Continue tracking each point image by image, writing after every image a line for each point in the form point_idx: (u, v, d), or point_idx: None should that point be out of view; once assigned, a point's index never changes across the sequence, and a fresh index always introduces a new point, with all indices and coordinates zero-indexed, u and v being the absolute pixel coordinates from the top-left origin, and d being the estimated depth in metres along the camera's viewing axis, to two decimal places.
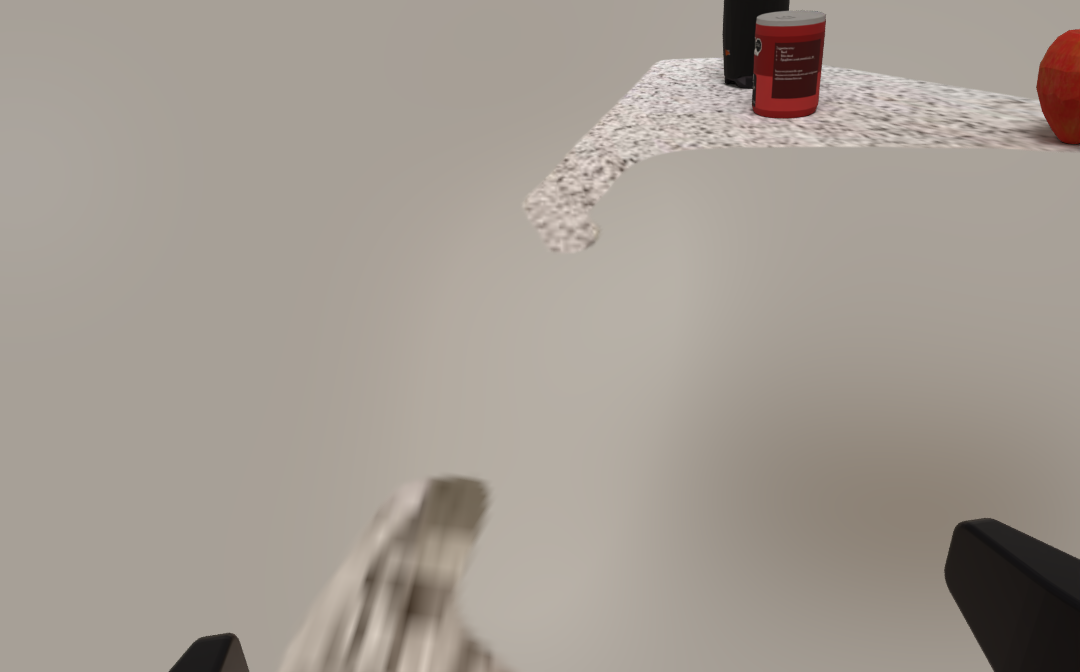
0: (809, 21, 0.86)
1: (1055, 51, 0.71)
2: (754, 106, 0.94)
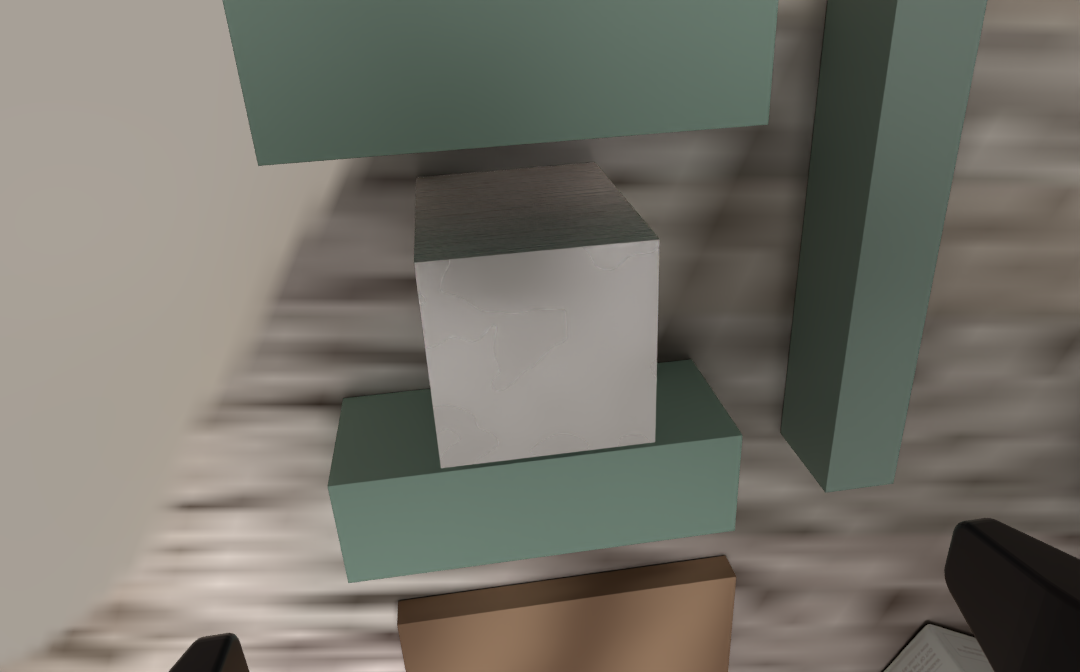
0: None
1: None
2: None
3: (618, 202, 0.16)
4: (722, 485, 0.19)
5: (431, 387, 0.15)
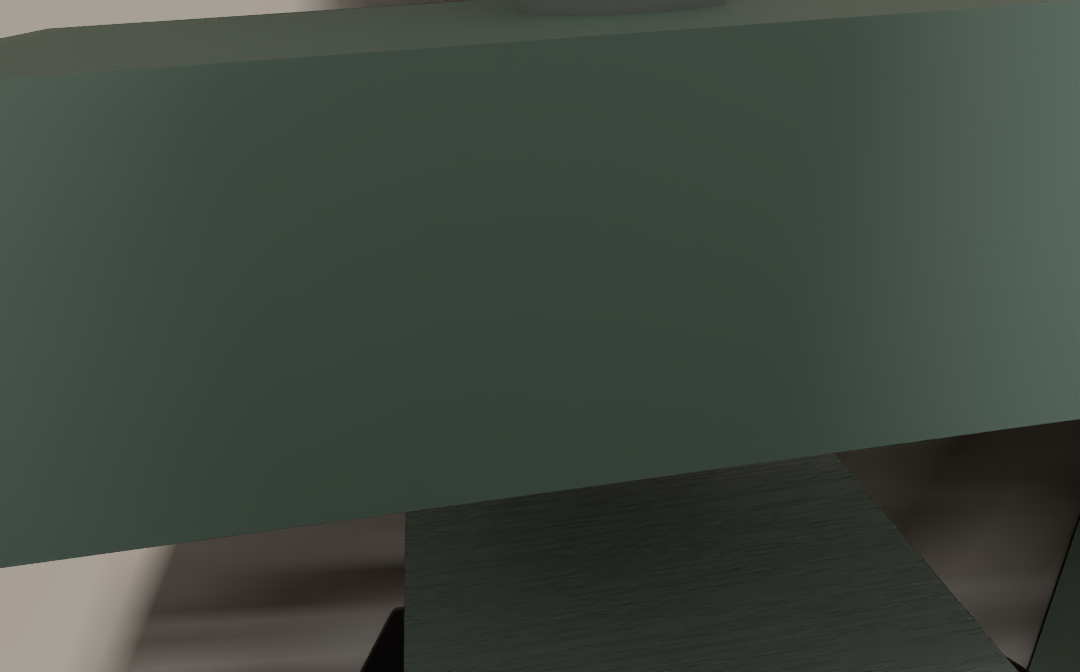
0: None
1: None
2: None
3: (889, 546, 0.07)
4: None
5: None
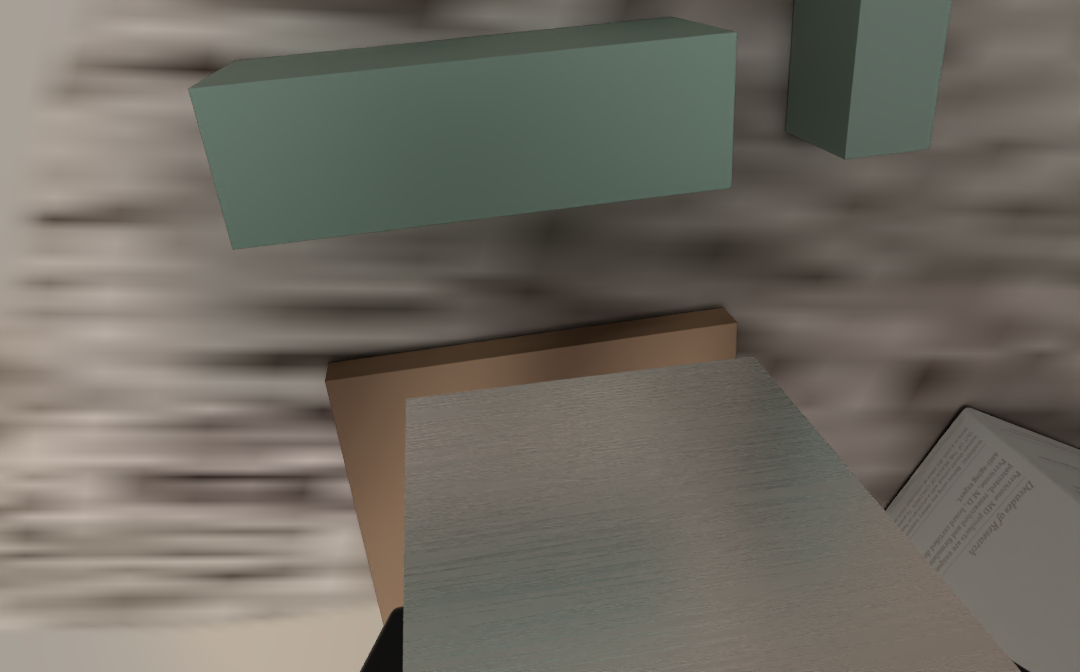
0: None
1: None
2: None
3: (889, 544, 0.07)
4: (713, 114, 0.15)
5: None
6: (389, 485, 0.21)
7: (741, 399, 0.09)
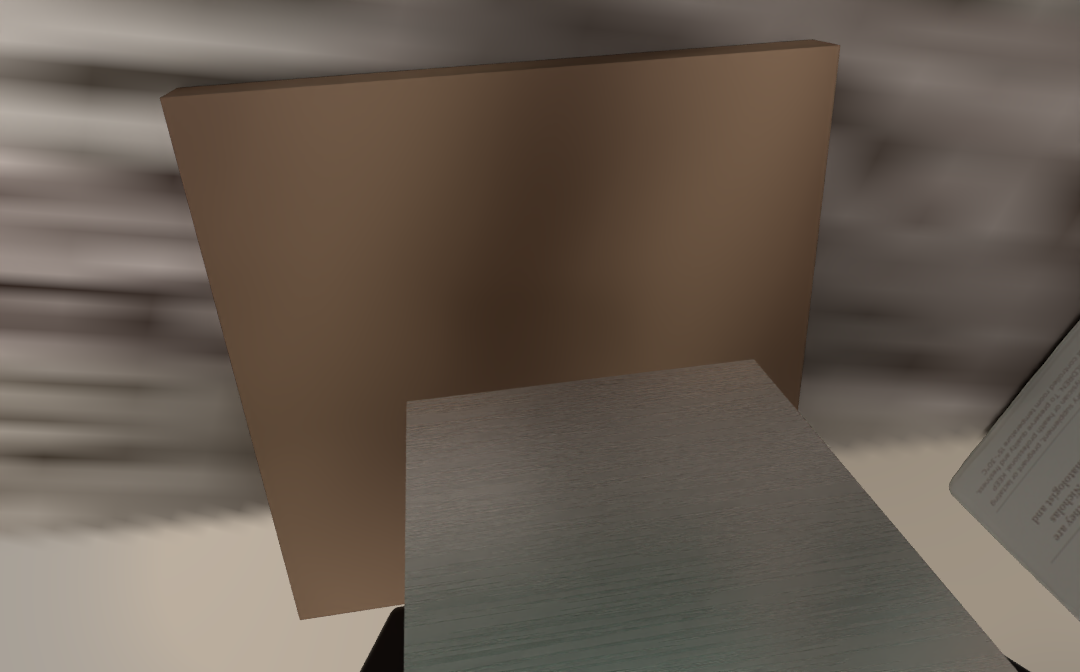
0: None
1: None
2: None
3: (890, 548, 0.07)
4: None
5: None
6: (278, 302, 0.13)
7: (741, 402, 0.09)
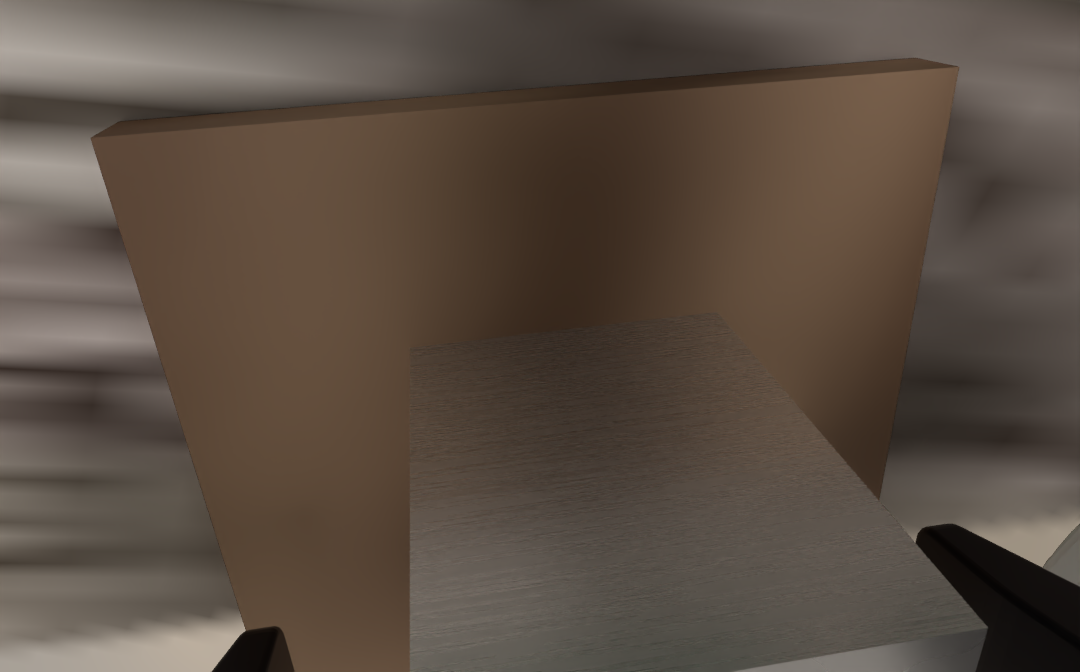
0: None
1: None
2: None
3: (817, 451, 0.08)
4: None
5: None
6: (250, 386, 0.11)
7: (703, 345, 0.10)
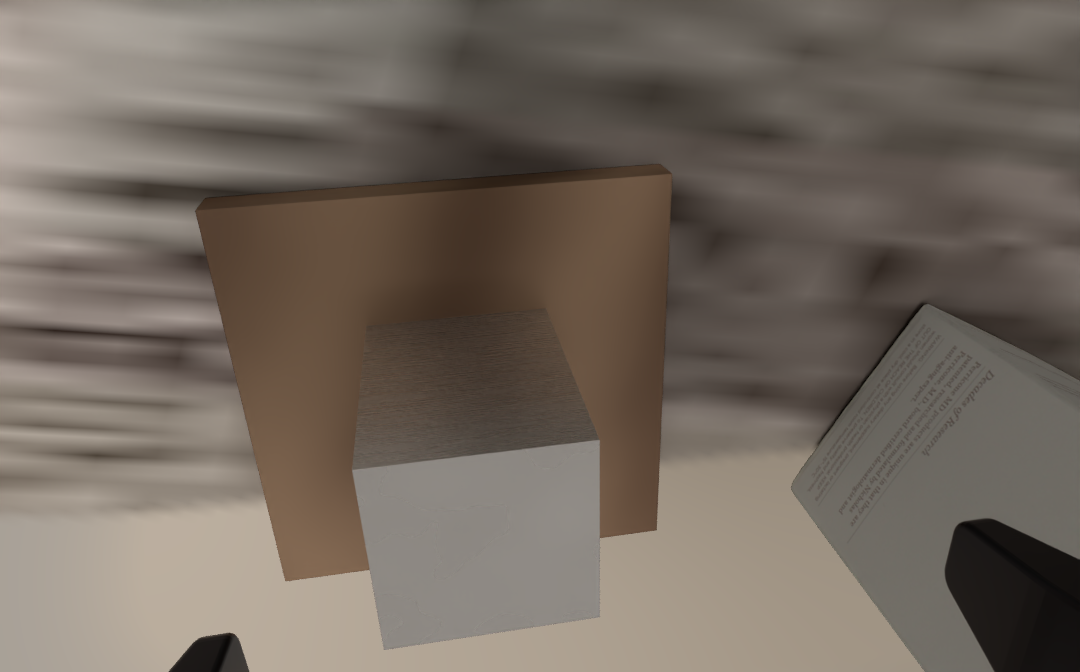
0: None
1: None
2: None
3: (564, 376, 0.16)
4: None
5: (372, 579, 0.15)
6: (273, 347, 0.19)
7: (530, 326, 0.19)
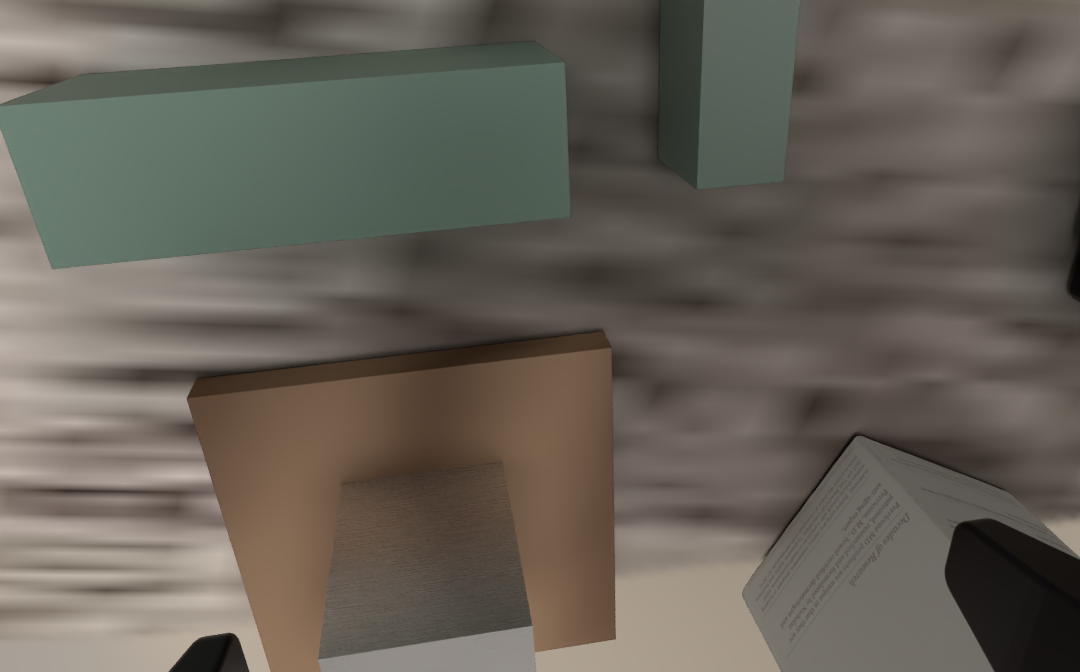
0: None
1: None
2: None
3: (510, 548, 0.19)
4: (546, 143, 0.15)
5: None
6: (260, 503, 0.21)
7: (486, 484, 0.21)
